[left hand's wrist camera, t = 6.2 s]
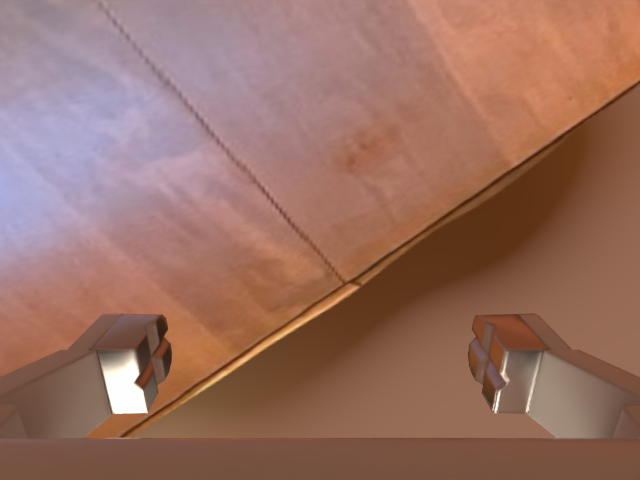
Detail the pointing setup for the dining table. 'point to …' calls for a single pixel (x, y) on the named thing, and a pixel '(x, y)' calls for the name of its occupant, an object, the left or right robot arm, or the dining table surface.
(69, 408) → the left robot arm
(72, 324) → the dining table surface
